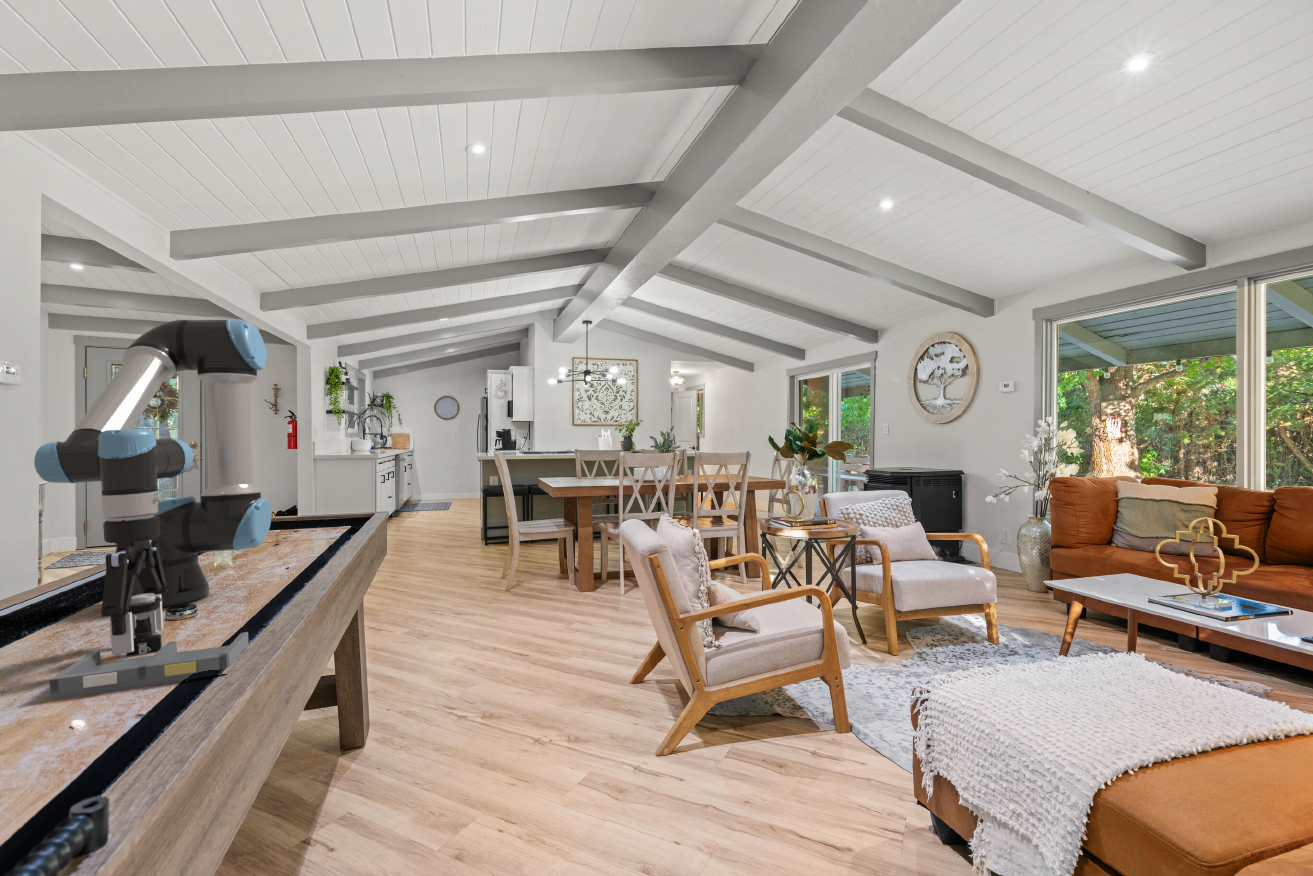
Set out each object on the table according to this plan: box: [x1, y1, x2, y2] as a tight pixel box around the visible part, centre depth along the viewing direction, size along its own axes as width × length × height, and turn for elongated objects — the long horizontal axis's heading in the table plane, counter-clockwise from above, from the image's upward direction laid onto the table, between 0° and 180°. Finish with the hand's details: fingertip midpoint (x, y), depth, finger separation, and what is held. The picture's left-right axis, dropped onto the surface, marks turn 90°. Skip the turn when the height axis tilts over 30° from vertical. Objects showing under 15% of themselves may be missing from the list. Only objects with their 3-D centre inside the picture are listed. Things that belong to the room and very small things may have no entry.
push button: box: [114, 593, 163, 657], centre depth 109 cm, size 7×5×10 cm
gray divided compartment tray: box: [49, 631, 250, 701], centre depth 100 cm, size 12×22×3 cm, turn 110°
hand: (139, 641), depth 109 cm, fingers open, 11 cm apart
